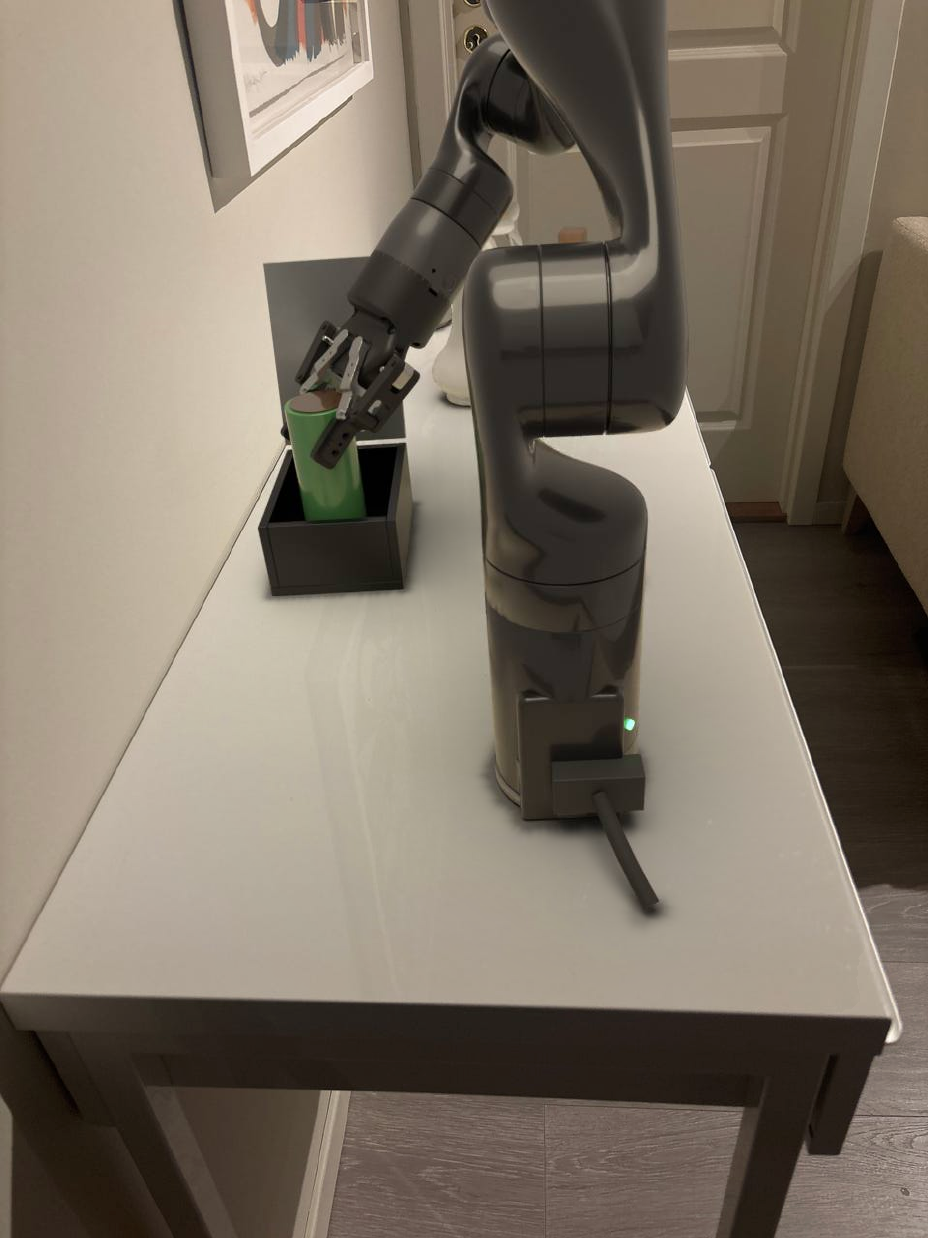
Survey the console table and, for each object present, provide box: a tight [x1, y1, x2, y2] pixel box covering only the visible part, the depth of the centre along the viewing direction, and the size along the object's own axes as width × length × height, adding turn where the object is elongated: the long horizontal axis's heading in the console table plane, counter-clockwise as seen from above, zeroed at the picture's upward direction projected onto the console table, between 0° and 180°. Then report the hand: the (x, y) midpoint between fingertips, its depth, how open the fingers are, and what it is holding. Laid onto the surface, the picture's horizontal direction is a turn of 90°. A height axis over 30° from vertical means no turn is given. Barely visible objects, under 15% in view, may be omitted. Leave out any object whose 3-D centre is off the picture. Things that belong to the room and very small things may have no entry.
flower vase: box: [431, 200, 524, 407], centre depth 111 cm, size 13×18×25 cm
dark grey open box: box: [257, 441, 414, 596], centre depth 88 cm, size 16×12×7 cm
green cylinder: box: [284, 391, 367, 521], centre depth 81 cm, size 5×5×12 cm
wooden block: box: [557, 226, 588, 243], centre depth 155 cm, size 4×4×8 cm
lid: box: [262, 255, 407, 446], centre depth 90 cm, size 16×12×1 cm
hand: (305, 451), depth 80 cm, fingers closed on green cylinder, 5 cm apart
